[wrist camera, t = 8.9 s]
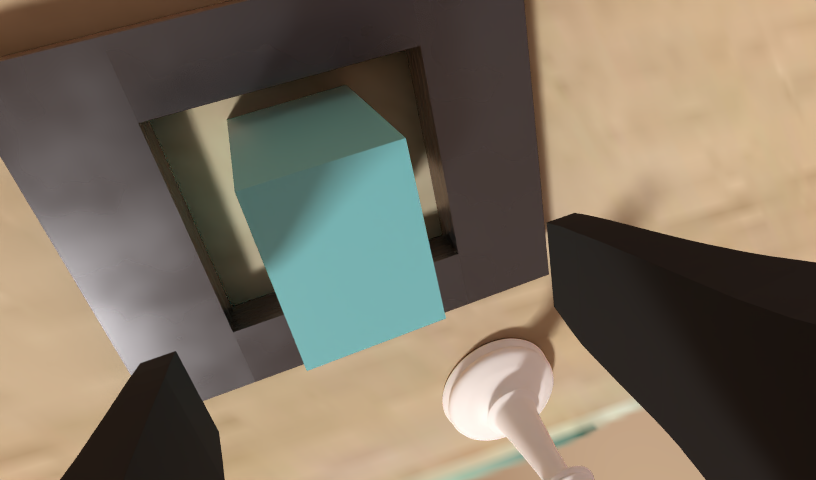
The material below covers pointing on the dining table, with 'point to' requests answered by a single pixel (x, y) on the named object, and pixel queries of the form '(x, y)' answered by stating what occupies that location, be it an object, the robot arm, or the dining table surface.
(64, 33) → the dining table surface
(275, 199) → the plug
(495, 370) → the chess piece
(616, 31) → the dining table surface
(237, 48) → the port block
